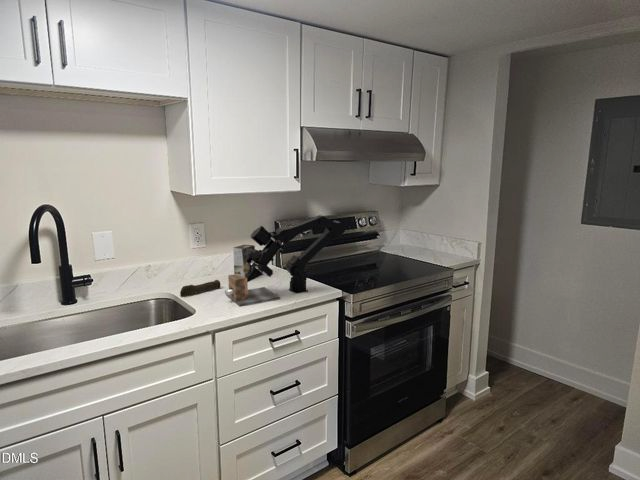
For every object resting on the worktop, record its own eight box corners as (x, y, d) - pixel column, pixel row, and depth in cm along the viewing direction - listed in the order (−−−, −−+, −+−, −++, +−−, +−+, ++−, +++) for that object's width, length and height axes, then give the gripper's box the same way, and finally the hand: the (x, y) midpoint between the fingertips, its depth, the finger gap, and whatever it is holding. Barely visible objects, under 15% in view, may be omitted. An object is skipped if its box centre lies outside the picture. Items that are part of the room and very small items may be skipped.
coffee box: (244, 281, 204) (243, 248, 201) (233, 279, 207) (232, 247, 204) (255, 276, 212) (254, 245, 209) (245, 275, 215) (244, 244, 212)
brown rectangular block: (243, 293, 181) (242, 275, 180) (247, 297, 177) (247, 278, 176) (223, 297, 177) (223, 278, 175) (227, 300, 173) (227, 281, 171)
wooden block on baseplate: (264, 289, 192) (264, 267, 190) (280, 299, 179) (279, 276, 177) (226, 295, 183) (225, 273, 181) (239, 306, 170) (238, 282, 168)
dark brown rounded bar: (216, 287, 196) (216, 277, 195) (221, 289, 193) (220, 279, 192) (177, 296, 183) (176, 286, 182) (182, 298, 180) (181, 288, 179)
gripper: (247, 237, 185) (224, 266, 182) (264, 245, 170) (239, 276, 166) (264, 252, 191) (242, 280, 188) (283, 261, 175) (259, 291, 172)
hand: (245, 281), depth 178 cm, fingers closed, pressing on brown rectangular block
